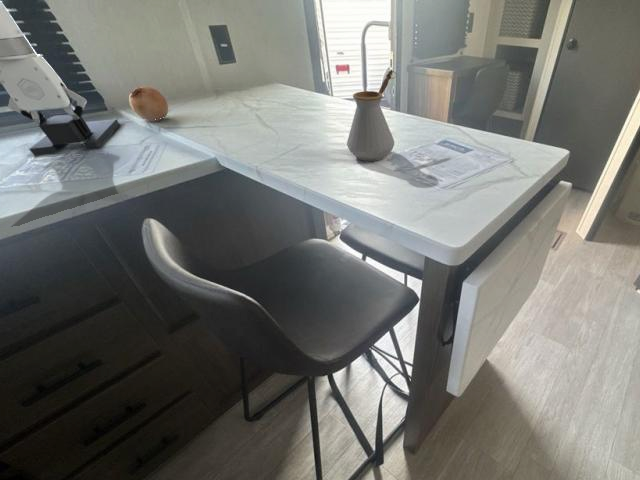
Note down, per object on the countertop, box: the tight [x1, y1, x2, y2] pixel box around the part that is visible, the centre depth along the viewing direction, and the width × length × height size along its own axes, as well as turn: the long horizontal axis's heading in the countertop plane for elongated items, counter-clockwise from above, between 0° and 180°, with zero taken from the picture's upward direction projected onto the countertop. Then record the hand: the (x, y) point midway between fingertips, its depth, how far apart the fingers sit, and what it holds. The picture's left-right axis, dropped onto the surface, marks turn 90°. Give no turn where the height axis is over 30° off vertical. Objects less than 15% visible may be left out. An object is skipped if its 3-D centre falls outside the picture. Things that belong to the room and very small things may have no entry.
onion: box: [128, 85, 169, 123], centre depth 94 cm, size 10×9×10 cm
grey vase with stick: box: [346, 69, 398, 162], centre depth 75 cm, size 21×12×15 cm, turn 160°
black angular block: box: [38, 114, 91, 145], centre depth 80 cm, size 6×8×4 cm
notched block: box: [28, 118, 120, 156], centre depth 86 cm, size 14×20×2 cm
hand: (71, 136), depth 81 cm, fingers closed on black angular block, 6 cm apart
